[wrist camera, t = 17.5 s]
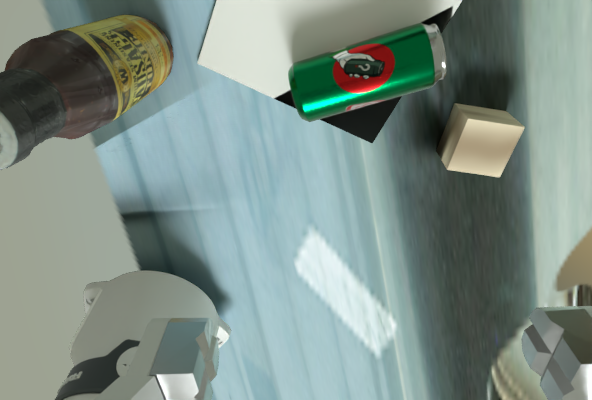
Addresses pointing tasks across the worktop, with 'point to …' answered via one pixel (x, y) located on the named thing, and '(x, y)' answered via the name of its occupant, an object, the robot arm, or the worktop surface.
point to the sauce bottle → (78, 81)
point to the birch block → (478, 140)
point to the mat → (308, 43)
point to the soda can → (368, 72)
